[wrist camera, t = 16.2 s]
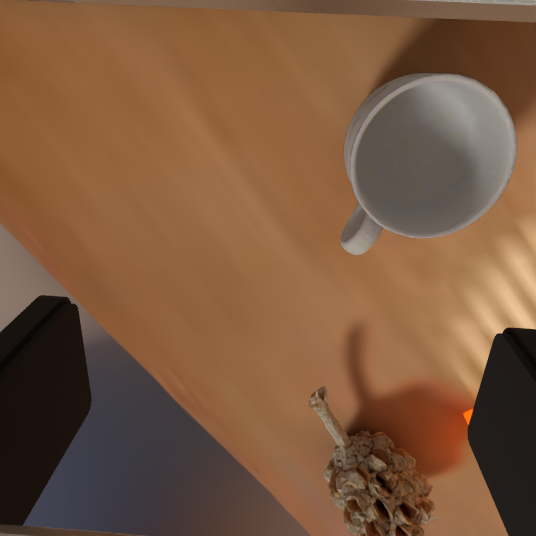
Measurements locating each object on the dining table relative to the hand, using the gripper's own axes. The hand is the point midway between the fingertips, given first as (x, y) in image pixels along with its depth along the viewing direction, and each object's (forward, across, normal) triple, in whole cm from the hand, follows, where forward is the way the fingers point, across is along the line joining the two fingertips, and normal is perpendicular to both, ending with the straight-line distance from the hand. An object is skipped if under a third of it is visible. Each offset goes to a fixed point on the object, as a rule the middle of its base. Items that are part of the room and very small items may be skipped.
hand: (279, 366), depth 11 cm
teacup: (+31, -8, +1) cm, 32 cm away
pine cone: (+31, -9, +31) cm, 44 cm away
